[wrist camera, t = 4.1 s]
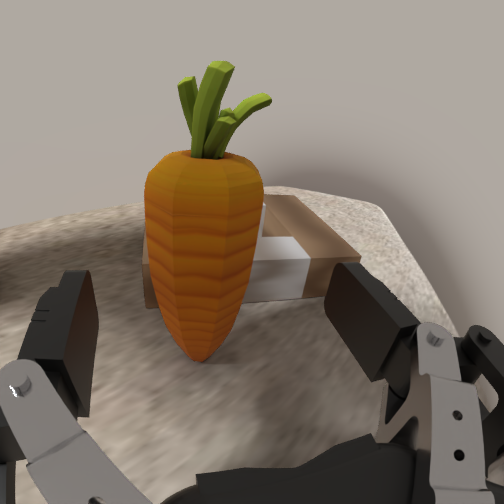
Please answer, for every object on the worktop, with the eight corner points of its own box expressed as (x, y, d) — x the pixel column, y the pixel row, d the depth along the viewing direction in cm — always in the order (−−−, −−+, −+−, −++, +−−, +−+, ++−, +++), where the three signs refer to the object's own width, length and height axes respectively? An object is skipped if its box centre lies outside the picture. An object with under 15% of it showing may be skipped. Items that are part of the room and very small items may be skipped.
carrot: (180, 321, 20) (191, 69, 13) (252, 346, 19) (294, 76, 12) (139, 371, 16) (122, 59, 9) (222, 406, 14) (261, 56, 7)
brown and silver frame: (145, 308, 20) (142, 264, 19) (148, 224, 32) (148, 193, 31) (349, 293, 25) (361, 256, 23) (289, 223, 37) (294, 195, 35)
